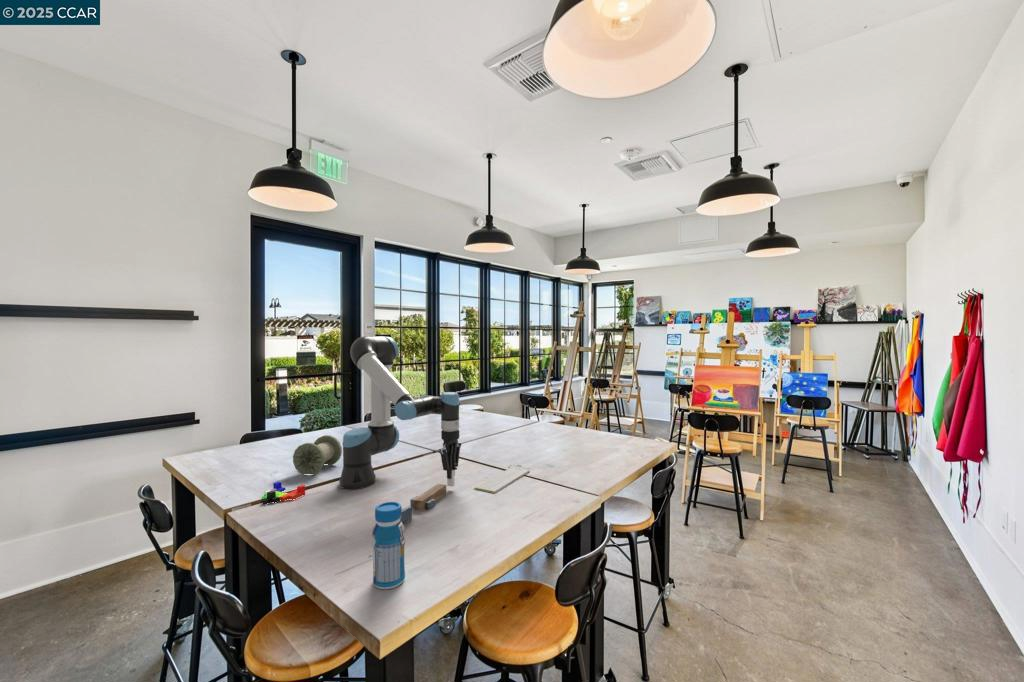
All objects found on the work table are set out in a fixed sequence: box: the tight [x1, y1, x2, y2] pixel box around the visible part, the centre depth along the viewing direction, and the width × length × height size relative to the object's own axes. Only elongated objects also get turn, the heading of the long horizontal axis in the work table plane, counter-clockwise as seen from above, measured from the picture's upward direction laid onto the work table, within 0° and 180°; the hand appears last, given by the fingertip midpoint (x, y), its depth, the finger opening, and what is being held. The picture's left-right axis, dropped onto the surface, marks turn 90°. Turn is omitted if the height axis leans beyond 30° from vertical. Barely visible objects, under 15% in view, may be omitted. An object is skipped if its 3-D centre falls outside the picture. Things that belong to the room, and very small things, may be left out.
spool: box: [292, 434, 343, 475], centre depth 206 cm, size 16×15×15 cm
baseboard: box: [473, 464, 530, 494], centre depth 190 cm, size 31×3×12 cm
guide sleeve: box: [409, 495, 436, 511], centre depth 161 cm, size 8×4×2 cm, turn 63°
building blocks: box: [261, 481, 306, 505], centre depth 170 cm, size 15×13×4 cm
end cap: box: [400, 505, 413, 525], centre depth 148 cm, size 8×8×4 cm
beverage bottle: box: [371, 501, 406, 590], centre depth 112 cm, size 8×8×20 cm
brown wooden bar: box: [412, 483, 447, 512], centre depth 166 cm, size 4×18×4 cm, turn 159°
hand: (450, 485), depth 178 cm, fingers closed
